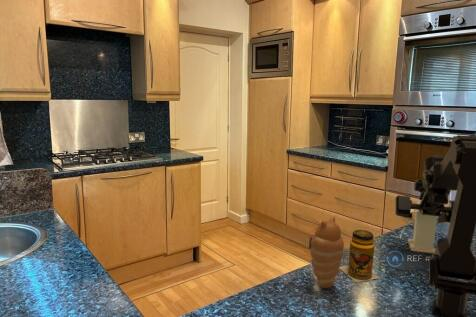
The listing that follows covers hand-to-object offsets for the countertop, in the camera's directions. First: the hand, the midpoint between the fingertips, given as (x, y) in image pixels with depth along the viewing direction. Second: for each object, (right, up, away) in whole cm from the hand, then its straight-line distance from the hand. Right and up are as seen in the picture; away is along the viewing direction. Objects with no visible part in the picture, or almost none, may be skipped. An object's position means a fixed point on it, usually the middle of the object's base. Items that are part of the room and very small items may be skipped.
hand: (423, 220), depth 113 cm
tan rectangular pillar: (0, -8, 0) cm, 8 cm away
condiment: (-27, -12, -16) cm, 33 cm away
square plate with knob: (-1, -9, 0) cm, 9 cm away
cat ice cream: (-37, -13, -24) cm, 46 cm away
